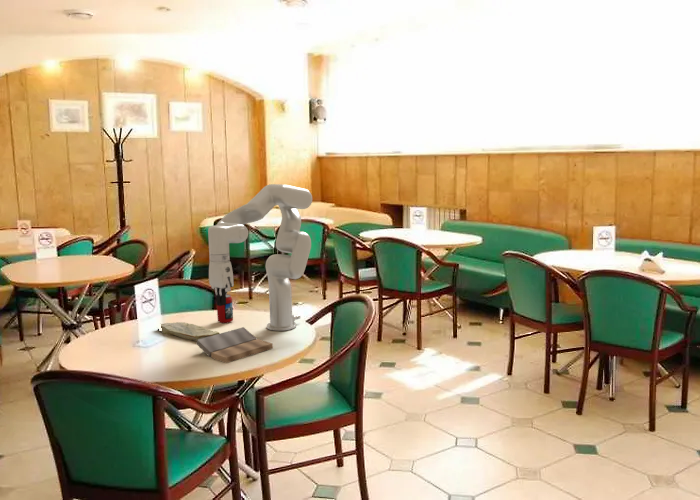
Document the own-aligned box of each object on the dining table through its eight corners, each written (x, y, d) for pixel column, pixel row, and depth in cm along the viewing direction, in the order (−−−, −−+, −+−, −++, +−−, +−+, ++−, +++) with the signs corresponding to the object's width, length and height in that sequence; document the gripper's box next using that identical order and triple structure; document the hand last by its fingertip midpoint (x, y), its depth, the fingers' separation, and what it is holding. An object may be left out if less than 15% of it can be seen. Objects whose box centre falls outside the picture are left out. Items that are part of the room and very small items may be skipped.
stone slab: (176, 318, 284) (221, 327, 265) (176, 328, 285) (221, 337, 266) (152, 324, 275) (196, 333, 256) (152, 334, 275) (197, 344, 256)
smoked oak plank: (242, 331, 260) (243, 327, 259) (255, 342, 256) (256, 338, 255) (196, 344, 244) (197, 339, 243) (209, 356, 239) (210, 352, 239)
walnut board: (257, 343, 255) (257, 338, 254) (272, 348, 249) (272, 343, 248) (211, 357, 239) (211, 352, 238) (226, 362, 233) (226, 357, 232)
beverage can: (231, 323, 284) (230, 297, 282) (216, 324, 284) (214, 297, 283) (234, 319, 291) (233, 293, 289) (219, 320, 291) (218, 294, 289)
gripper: (239, 258, 243) (241, 306, 246) (215, 254, 253) (217, 300, 256) (223, 261, 238) (225, 309, 241) (199, 257, 248) (202, 304, 251)
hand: (221, 304), depth 249 cm, fingers closed
